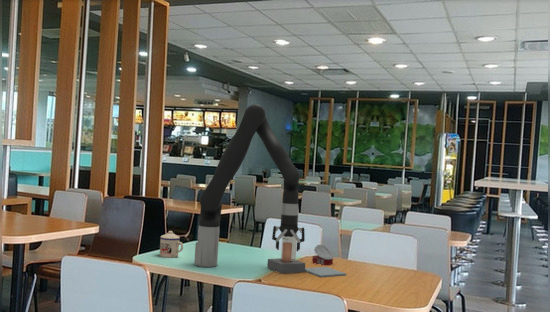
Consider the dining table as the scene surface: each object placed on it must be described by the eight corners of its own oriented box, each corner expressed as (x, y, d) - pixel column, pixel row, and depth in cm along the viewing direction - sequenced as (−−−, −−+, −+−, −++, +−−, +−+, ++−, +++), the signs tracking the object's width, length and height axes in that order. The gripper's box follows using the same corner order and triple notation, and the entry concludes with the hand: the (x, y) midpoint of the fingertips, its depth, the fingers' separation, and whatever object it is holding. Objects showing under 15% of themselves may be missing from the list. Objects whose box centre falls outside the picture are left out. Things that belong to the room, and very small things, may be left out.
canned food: (327, 271, 249) (337, 254, 249) (327, 273, 239) (338, 255, 239) (307, 259, 250) (318, 241, 251) (307, 260, 240) (318, 242, 241)
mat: (320, 277, 213) (320, 275, 213) (301, 270, 225) (301, 268, 225) (346, 275, 220) (346, 273, 220) (326, 268, 232) (326, 266, 232)
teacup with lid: (154, 256, 235) (156, 230, 235) (166, 253, 243) (168, 229, 244) (176, 259, 230) (178, 233, 230) (187, 256, 238) (189, 232, 239)
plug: (284, 271, 220) (286, 243, 220) (279, 269, 223) (281, 242, 224) (292, 270, 222) (293, 243, 222) (287, 268, 226) (288, 242, 226)
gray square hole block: (281, 273, 215) (282, 264, 215) (267, 268, 225) (267, 258, 225) (304, 272, 221) (305, 263, 221) (289, 266, 231) (290, 257, 231)
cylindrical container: (295, 262, 241) (299, 210, 242) (280, 261, 241) (284, 209, 242) (295, 259, 248) (298, 209, 249) (280, 258, 249) (284, 208, 249)
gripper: (273, 213, 220) (271, 250, 219) (306, 215, 219) (304, 252, 219) (273, 211, 227) (271, 248, 227) (305, 213, 227) (303, 250, 226)
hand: (287, 250), depth 223 cm, fingers open, 8 cm apart
